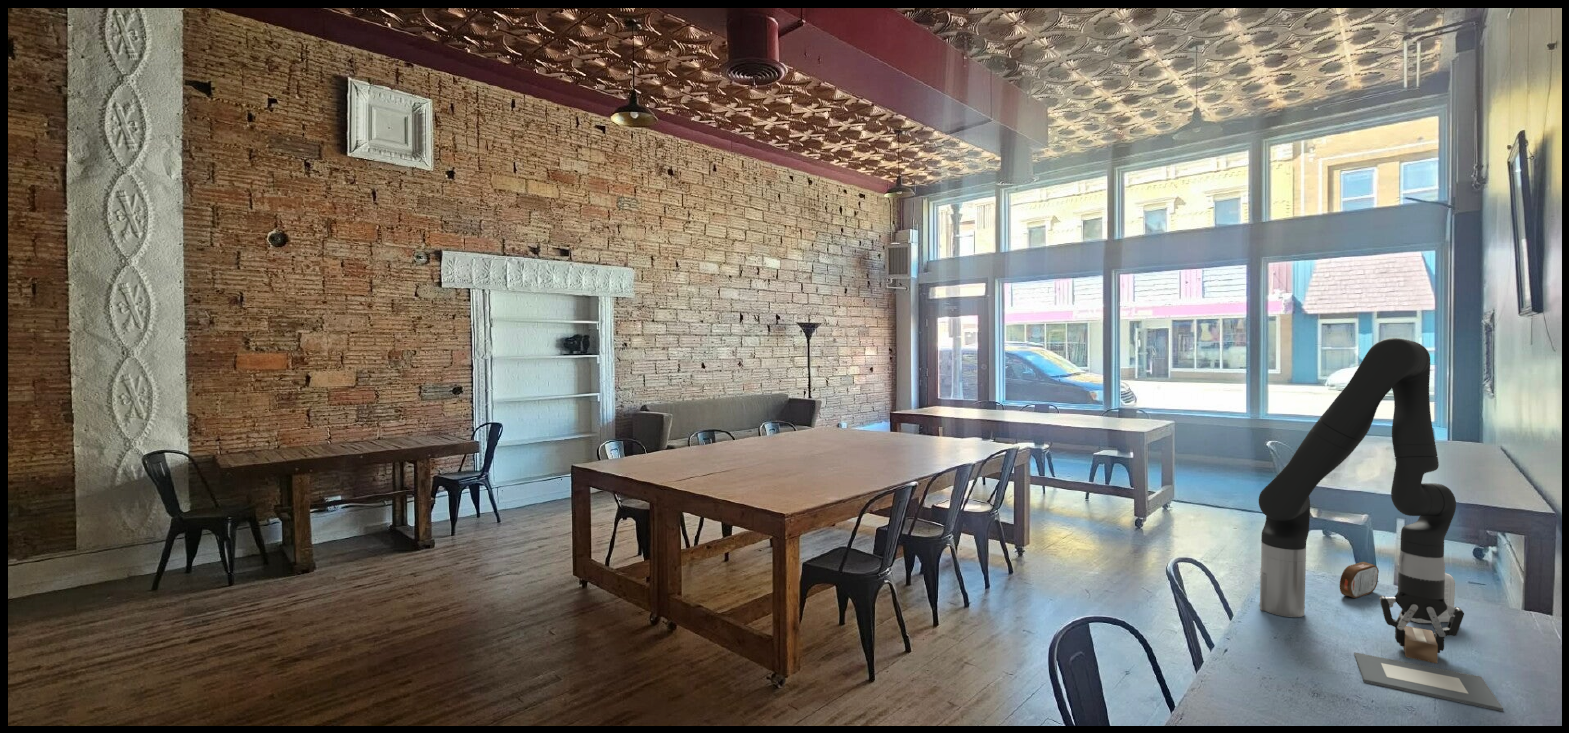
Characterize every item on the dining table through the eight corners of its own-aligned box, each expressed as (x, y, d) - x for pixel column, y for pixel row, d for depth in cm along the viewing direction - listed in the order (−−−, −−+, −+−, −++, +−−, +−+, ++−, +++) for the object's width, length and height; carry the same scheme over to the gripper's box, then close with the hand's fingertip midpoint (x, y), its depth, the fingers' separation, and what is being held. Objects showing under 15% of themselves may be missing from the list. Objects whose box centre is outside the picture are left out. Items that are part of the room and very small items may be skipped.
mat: (1363, 682, 138) (1364, 678, 138) (1354, 655, 150) (1354, 651, 150) (1503, 711, 127) (1503, 708, 127) (1481, 679, 138) (1481, 676, 138)
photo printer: (1438, 615, 170) (1439, 567, 169) (1457, 622, 166) (1459, 572, 165) (1402, 618, 168) (1404, 569, 168) (1421, 625, 164) (1422, 575, 164)
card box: (1405, 657, 148) (1406, 639, 148) (1401, 642, 156) (1402, 624, 155) (1437, 663, 145) (1437, 645, 145) (1431, 648, 152) (1432, 630, 152)
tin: (1366, 588, 188) (1367, 558, 188) (1380, 592, 185) (1381, 561, 185) (1337, 598, 182) (1338, 567, 181) (1351, 602, 179) (1352, 570, 178)
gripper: (1381, 572, 150) (1379, 647, 151) (1471, 584, 142) (1468, 663, 143) (1375, 562, 157) (1373, 634, 157) (1461, 574, 149) (1459, 649, 149)
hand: (1419, 648), depth 150 cm, fingers closed on card box, 5 cm apart
